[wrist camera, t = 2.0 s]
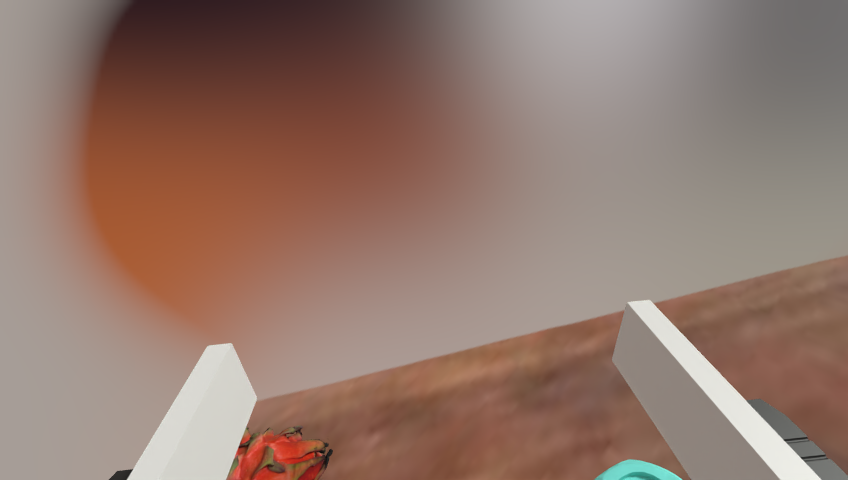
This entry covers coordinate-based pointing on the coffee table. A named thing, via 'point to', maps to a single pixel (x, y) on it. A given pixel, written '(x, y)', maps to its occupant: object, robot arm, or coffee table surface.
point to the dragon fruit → (279, 457)
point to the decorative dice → (637, 472)
